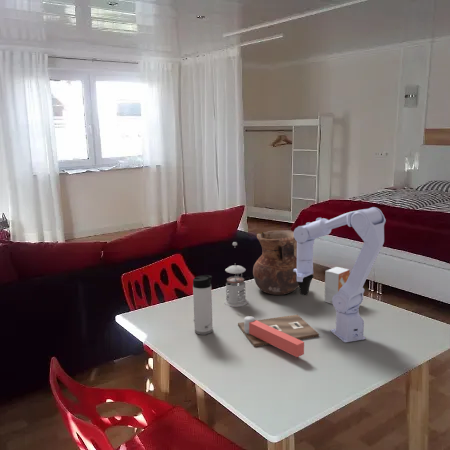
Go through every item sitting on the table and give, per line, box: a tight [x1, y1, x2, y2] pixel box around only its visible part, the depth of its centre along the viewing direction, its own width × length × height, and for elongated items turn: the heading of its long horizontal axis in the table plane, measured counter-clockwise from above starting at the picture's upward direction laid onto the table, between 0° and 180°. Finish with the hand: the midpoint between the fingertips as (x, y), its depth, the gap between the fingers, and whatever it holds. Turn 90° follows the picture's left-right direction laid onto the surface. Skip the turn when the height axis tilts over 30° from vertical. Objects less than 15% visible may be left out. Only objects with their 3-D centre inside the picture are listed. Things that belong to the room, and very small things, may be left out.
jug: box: [252, 229, 299, 296], centre depth 196 cm, size 22×21×25 cm
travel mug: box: [192, 274, 214, 336], centre depth 157 cm, size 6×7×20 cm
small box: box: [324, 266, 351, 305], centre depth 183 cm, size 8×6×13 cm
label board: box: [237, 314, 320, 348], centre depth 158 cm, size 17×23×1 cm
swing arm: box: [243, 315, 305, 358], centre depth 147 cm, size 4×25×4 cm, turn 39°
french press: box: [223, 241, 249, 308], centre depth 184 cm, size 10×12×25 cm
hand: (304, 294), depth 165 cm, fingers closed
